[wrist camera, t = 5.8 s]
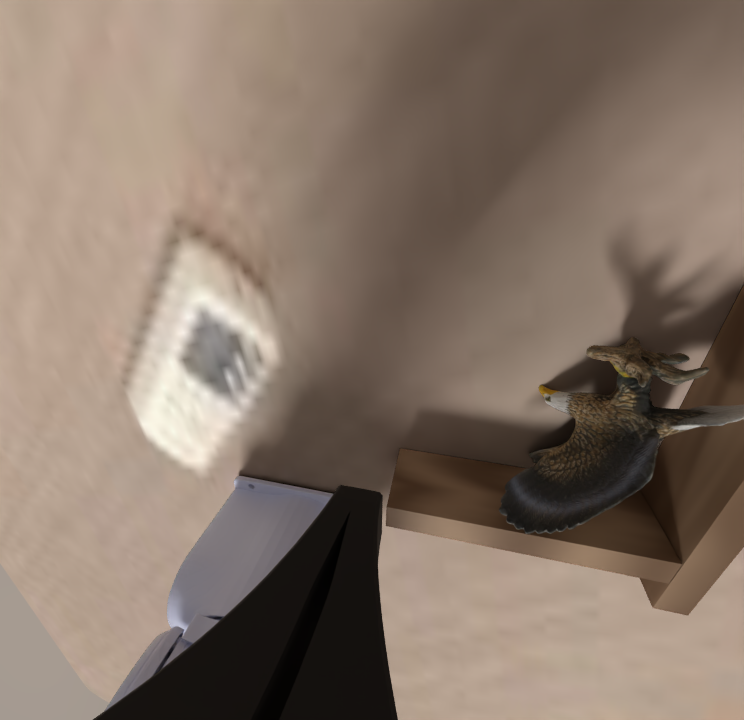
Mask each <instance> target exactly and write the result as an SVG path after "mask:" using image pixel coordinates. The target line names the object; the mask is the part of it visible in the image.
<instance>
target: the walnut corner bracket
mask: <svg viewBox="0 0 744 720" xmlns="http://www.w3.org/2000/svg"><path fill="white" fill-rule="evenodd" d="M703 367H708V368H709V371H708V372H707V373H706V374H705V375H703V376H701V377H699V378H695V380H694V382H693V384H692V386H691V388H690V389H689V391H688V393H687V395H686V397H685V399H684V401H683V403H682V405H681V407H680V409H690V408H694V407H700V406H735V405H744V286H743V287H742V289H741V291H740V293H739V295H738V297H737V299H736V301H735V303H734V305H733V307H732V309H731V311H730V312H729V314H728V316H727V318H726V320H725V322H724V324H723V326H722V328H721V330H720V332H719V334H718V336H717V337H716V339H715V341H714V343H713V345H712V347H711V349H710V351H709V353H708V355H707V357H706V359H705V361H704V363H703V364H702V366H701V368H703ZM526 469H527V468H521V467H514V466H508V465H502V464H496V463H489V462H483V461H477V460H470V459H464V458H458V457H452V456H445V455H439V454H433V453H426V452H420V451H414V450H408V449H401V448H400V450H399V454H398V459H397V463H396V468H395V472H394V477H393V481H392V485H391V490H390V494H389V499H388V503H387V510H386V526H389V527H394V528H399V529H404V530H409V531H414V532H419V533H423V534H428V535H433V536H438V537H443V538H448V539H453V540H458V541H463V542H467V543H472V544H477V545H482V546H487V547H492V548H497V549H502V550H506V551H511V552H516V553H521V554H526V555H531V556H536V557H541V558H545V559H550V560H555V561H560V562H565V563H570V564H575V565H580V566H585V567H589V568H594V569H599V570H604V571H609V572H614V573H619V574H624V575H628V576H633V577H638V578H640V580H641V582H642V584H643V587H644V589H645V591H646V594H647V596H648V598H649V600H650V603H651V605H652V607H653V608H656V609H660V610H665V611H670V612H674V613H679V614H683V615H689V613H690V612H691V611H692V610H693V608H694V607H695V606H696V605H697V604H698V602H699V601H700V600H701V599H702V597H703V596H704V595H705V594H706V593H707V591H708V590H709V589H710V588H711V586H712V585H713V584H714V583H715V582H716V580H717V579H718V578H719V577H720V575H721V574H722V573H723V572H724V571H725V569H726V568H727V567H728V566H729V564H730V563H731V562H732V561H733V559H734V558H735V557H736V556H737V555H738V553H739V552H740V551H741V550H742V548H743V547H744V419H742V420H739V421H737V422H731V423H727V424H725V425H722V426H700V427H696V428H692V429H689V430H685V431H682V432H679V433H675V434H672V435H668V436H665V438H664V440H663V441H662V443H661V445H660V447H659V449H658V453H657V456H656V463H655V467H654V473H653V476H652V478H651V480H650V481H649V482H648V483H647V484H646V485H645V486H644V487H643V488H642V489H640V490H638V491H637V492H635V493H634V494H633V495H631V496H629V497H627V498H626V499H624V500H623V501H622V502H621V503H619V504H618V505H615V506H614V507H613V508H610V509H608V510H606V511H604V512H603V513H601V514H599V515H597V516H595V517H593V518H591V519H590V520H589V521H587V522H586V523H584V524H582V525H578V526H577V527H575V528H574V529H568V528H566V529H565V530H564V531H563V532H559V531H555V532H553V533H551V534H549V533H548V532H544V533H541V534H538V533H537V532H533V533H530V534H529V533H528V534H526V533H525V531H524V529H516V528H515V526H514V525H513V524H509V523H507V521H506V518H507V516H505V515H502V514H501V513H500V512H499V508H500V507H501V504H502V503H501V498H502V496H503V495H504V494H505V493H506V491H505V485H506V484H507V482H508V481H509V480H511V479H512V478H513V477H514V476H515V475H517V474H519V473H520V472H522V471H524V470H526Z"/></svg>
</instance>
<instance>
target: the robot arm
mask: <svg viewBox="0 0 744 720" xmlns="http://www.w3.org/2000/svg"><path fill="white" fill-rule="evenodd" d="M234 484H235V488H236V489H235V490H234V491H233V493H232V494H231V495H230V497H229V498H228V499H227V501H226V502H225V504H224V505H223V506H222V508H221V509H220V511H219V512H218V513H217V515H216V516H215V517H214V519H213V520H212V522H211V523H210V524H209V526H208V527H207V529H206V530H205V531H204V533H203V534H202V536H201V537H200V538H199V540H198V541H197V542H196V544H195V545H194V547H193V548H192V549H191V551H190V552H189V554H188V555H187V557H186V558H185V560H184V562H183V563H182V565H181V567H180V569H179V571H178V573H177V575H176V578H175V580H174V583H173V585H172V588H171V591H170V594H169V599H168V605H167V618H168V622H169V625H170V627H171V629H170V630H169V631H166V632H164V633H161V634H159V635H158V636H157V637H156V638H155V639H154V640H153V642H152V643H151V644H150V645H149V647H148V648H147V649H146V650H145V652H144V653H143V654H142V656H141V657H140V659H139V660H138V661H137V663H136V664H135V666H134V667H133V669H132V670H131V671H130V673H129V674H128V676H127V677H126V679H125V680H124V682H123V683H122V685H121V686H120V688H119V689H118V691H117V692H116V694H115V695H114V697H113V699H112V700H111V702H110V703H109V705H108V706H107V708H106V710H105V711H104V712H103V713H102V714H100V715H99V716H97V717H96V718H95V719H93V720H398V718H397V713H396V707H395V701H394V696H393V690H392V684H391V678H390V672H389V666H388V659H387V652H386V645H385V638H384V630H383V622H382V613H381V603H380V591H379V579H378V556H379V547H380V541H381V534H382V499H383V495H382V494H381V493H380V492H376V491H371V490H365V489H360V488H354V487H349V486H344V485H341V486H339V487H338V488H337V489H336V491H335V492H334V494H332V493H327V492H322V491H317V490H312V489H306V488H301V487H296V486H291V485H286V484H280V483H275V482H270V481H265V480H260V479H254V478H249V477H244V476H237V477H236V479H235V480H234ZM182 635H183V636H182Z"/></svg>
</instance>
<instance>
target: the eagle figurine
mask: <svg viewBox="0 0 744 720" xmlns="http://www.w3.org/2000/svg"><path fill="white" fill-rule="evenodd" d="M587 356H589V357H590V358H593V359H597V360H602V361H610V362H611V364H612V365H613V366H614V368H615V369H616V370H617V371H618V372H619V374H618V376H617V387H616V389H615V391H614V392H613V393H612V394H611V395H602V394H595V393H566V392H561V391H556V390H551V389H548V388H546V387H544V386H543V385H540V386H539V391H540V393H541V394H542V395H543V397H544V400H545V402H546V403H547V404H549V405H550V406H552V407H554V408H556V409H558V410H560V411H562V412H565V413H567V414H569V415H570V416H572V417H574V418H575V421H576V426H575V429H574V431H573V433H572V435H571V437H570V439H569V440H568V441H567V442H566V443H563V444H561V445H559V446H557V447H552V448H548V449H543V450H539V451H535V452H532V453H530V454H529V456H530V457H532V458H533V462H534V463H537V464H536V465H535V466H534V467H532V468H528V469H526V470H524V471H522V472H520V473H519V474H517V475H515V476H514V477H513V478H512V479H511V480H509V481H508V482H507V484H506V485H505V491H506V493H505V494H504V495H503V496H502V498H501V503H502V504H501V507H500V508H499V512H500V513H501V514H502V515H505V516H507V518H506V521H507V523H509V524H513V525H514V526H515V528H516V529H524V531H525V533H526V534H528V533H529V534H530V533H533V532H537V533H538V534H541V533H544V532H548V533H549V534H551V533H553V532H555V531H559V532H563V531H564V530H565V529H566V528H568V529H574V528H575V527H577V526H578V525H582V524H584V523H586V522H587V521H589V520H590V519H591V518H593V517H595V516H597V515H599V514H601V513H603V512H604V511H606V510H608V509H610V508H613V507H614V506H615V505H618V504H619V503H621V502H622V501H623V500H624V499H626V498H627V497H629V496H631V495H633V494H634V493H635V492H637V491H638V490H640V489H642V488H643V487H644V486H645V485H646V484H647V483H648V482H649V481H650V480H651V478H652V476H653V473H654V467H655V463H656V456H657V453H658V449H657V447H658V446H659V442H660V441H661V440H662V439H663V438H664V437H665V436H668V435H672V434H675V433H679V432H682V431H685V430H689V429H692V428H696V427H700V426H722V425H725V424H727V423H731V422H737V421H739V420H742V419H744V405H735V406H700V407H694V408H690V409H667V408H658V407H654V406H653V405H652V402H651V401H650V399H649V397H650V394H649V393H650V391H651V389H650V382H651V381H652V377H651V375H652V374H653V375H656V376H658V377H659V378H660V379H661V380H663V381H665V382H667V383H669V384H673V385H679V384H681V383H683V382H685V381H689V380H692V379H695V378H699V377H701V376H703V375H705V374H706V373H707V372H708V371H709V368H708V367H703V368H698V369H694V370H689V371H683V370H679V369H676V368H674V367H672V366H669V365H667V364H679V363H683V362H686V361H688V360H689V357H688V356H687V355H685V354H682V353H677V354H673V355H666V354H663V353H654V352H651V351H646V350H644V349H643V348H642V347H641V345H640V342H639V340H638V339H637V338H635V337H631V338H630V339H629V340H628V342H627V343H626V344H623V345H621V346H619V347H608V346H595V345H593V346H591V347H589V348H588V349H587ZM665 363H666V364H665Z"/></svg>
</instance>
